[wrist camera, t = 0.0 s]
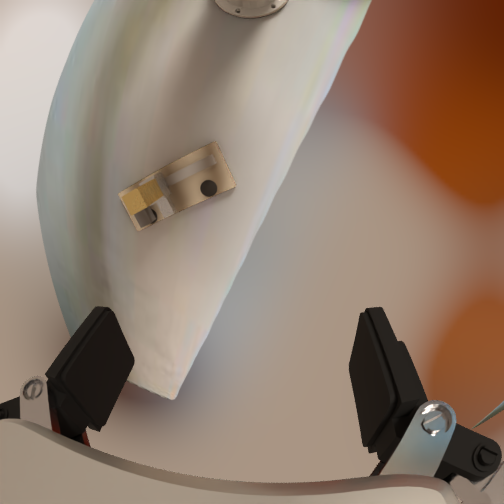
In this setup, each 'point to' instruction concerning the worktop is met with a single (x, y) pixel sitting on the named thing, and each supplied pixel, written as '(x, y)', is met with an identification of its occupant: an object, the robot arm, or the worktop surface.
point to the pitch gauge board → (187, 183)
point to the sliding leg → (150, 196)
